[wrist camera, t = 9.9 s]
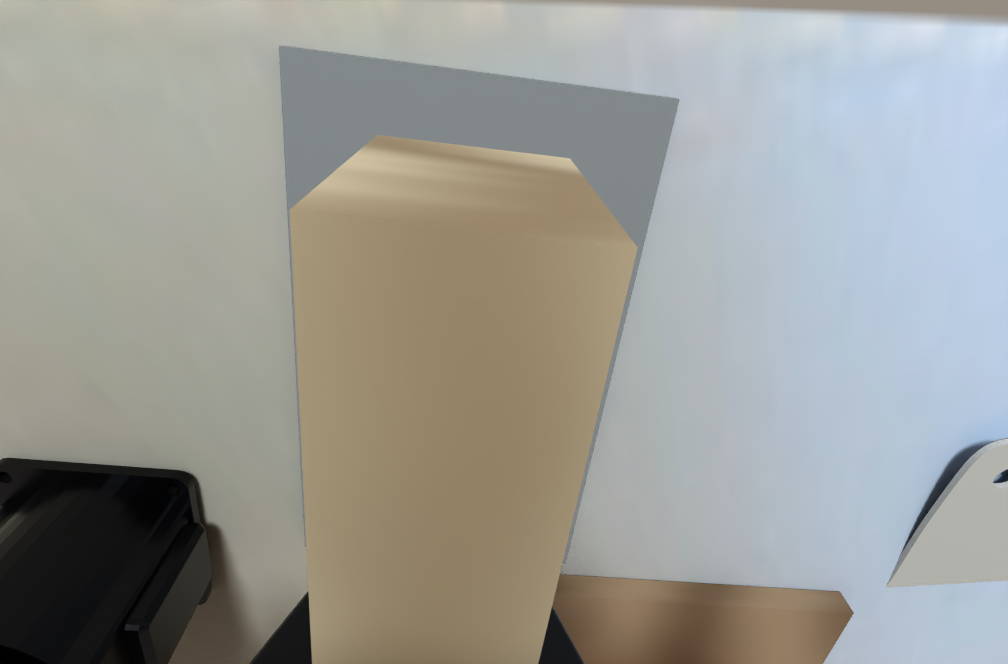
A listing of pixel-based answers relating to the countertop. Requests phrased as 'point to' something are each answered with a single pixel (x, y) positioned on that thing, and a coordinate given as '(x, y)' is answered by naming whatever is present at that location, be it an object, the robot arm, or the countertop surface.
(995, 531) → the kitchen cleaver
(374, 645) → the turner
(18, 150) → the countertop surface
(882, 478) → the countertop surface
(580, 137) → the mat
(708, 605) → the board
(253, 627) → the countertop surface
